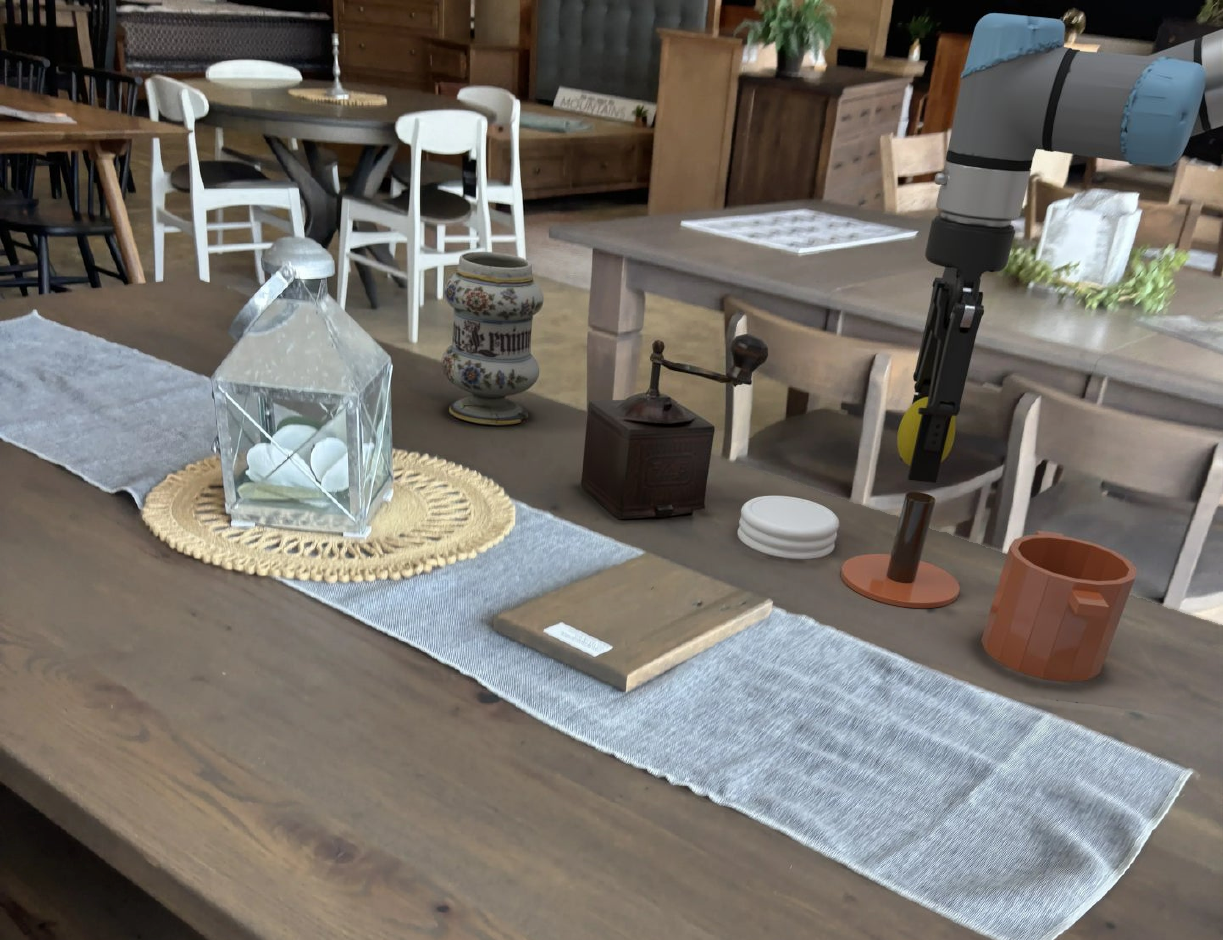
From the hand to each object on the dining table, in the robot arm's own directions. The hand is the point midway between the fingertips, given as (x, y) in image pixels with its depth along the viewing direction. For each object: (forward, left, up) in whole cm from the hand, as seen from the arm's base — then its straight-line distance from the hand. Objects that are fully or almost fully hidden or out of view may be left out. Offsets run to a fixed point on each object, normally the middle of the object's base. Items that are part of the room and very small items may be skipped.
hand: (917, 469), depth 122 cm
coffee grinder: (+25, -5, -8) cm, 27 cm away
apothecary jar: (+48, -28, -8) cm, 57 cm away
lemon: (0, 0, -1) cm, 1 cm away
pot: (-10, +24, -8) cm, 27 cm away
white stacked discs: (+12, +4, -8) cm, 15 cm away
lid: (+2, +12, -7) cm, 14 cm away
